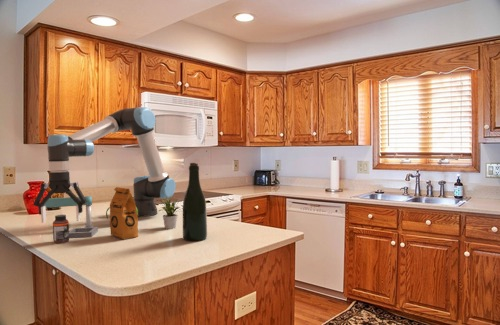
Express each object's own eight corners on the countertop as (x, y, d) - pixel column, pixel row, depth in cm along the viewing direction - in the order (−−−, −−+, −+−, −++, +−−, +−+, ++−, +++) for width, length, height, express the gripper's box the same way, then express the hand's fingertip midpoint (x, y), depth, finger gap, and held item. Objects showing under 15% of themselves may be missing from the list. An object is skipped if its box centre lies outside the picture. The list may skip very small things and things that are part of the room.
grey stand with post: (101, 227, 175) (101, 204, 174) (91, 236, 156) (91, 210, 156) (78, 228, 173) (77, 205, 172) (65, 237, 155) (64, 211, 154)
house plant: (146, 229, 170) (146, 195, 170) (166, 223, 183) (165, 192, 182) (169, 232, 164) (169, 197, 163) (187, 226, 176) (187, 194, 175)
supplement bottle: (57, 240, 151) (56, 214, 151) (71, 239, 152) (71, 213, 151) (50, 243, 145) (49, 216, 145) (65, 243, 146) (64, 216, 145)
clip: (92, 204, 173) (92, 196, 173) (91, 205, 170) (91, 196, 170) (44, 206, 166) (44, 198, 166) (43, 207, 163) (43, 199, 163)
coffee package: (120, 241, 149) (118, 189, 148) (107, 236, 157) (106, 187, 156) (141, 236, 156) (140, 187, 155) (128, 232, 164) (127, 185, 163)
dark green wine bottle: (206, 235, 158) (205, 162, 157) (207, 241, 148) (206, 163, 146) (182, 236, 156) (181, 162, 155) (182, 242, 146) (181, 163, 145)
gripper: (93, 169, 153) (94, 217, 154) (30, 171, 149) (33, 220, 150) (88, 171, 146) (90, 221, 147) (22, 172, 141) (25, 224, 142)
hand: (61, 221), depth 148 cm, fingers open, 13 cm apart
